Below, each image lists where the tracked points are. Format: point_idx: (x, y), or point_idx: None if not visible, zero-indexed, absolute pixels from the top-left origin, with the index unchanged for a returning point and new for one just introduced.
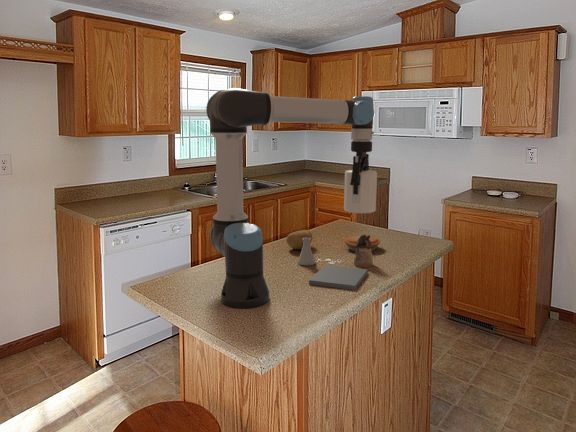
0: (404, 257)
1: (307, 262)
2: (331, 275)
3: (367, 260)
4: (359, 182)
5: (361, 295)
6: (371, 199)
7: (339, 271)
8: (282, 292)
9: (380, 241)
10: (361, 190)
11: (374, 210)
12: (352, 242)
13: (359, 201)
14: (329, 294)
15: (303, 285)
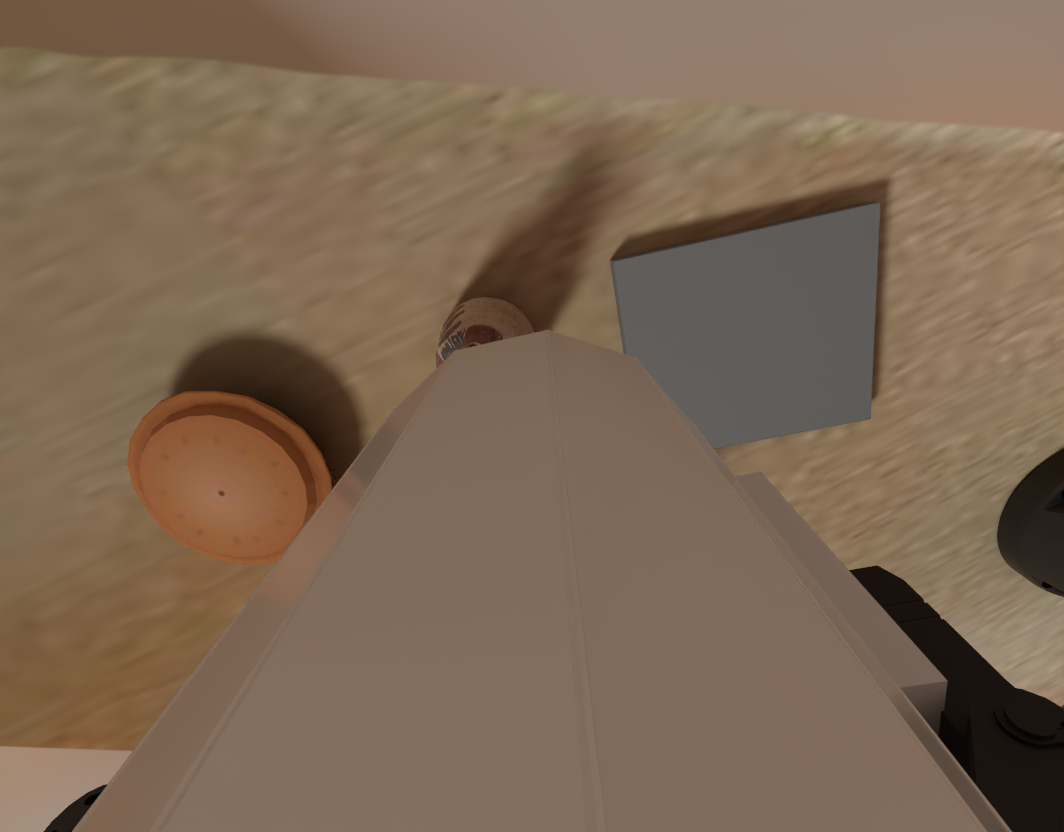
0: (235, 203)
1: None
2: (776, 368)
3: (515, 312)
4: (1036, 760)
5: (927, 137)
6: (616, 392)
7: (705, 365)
8: (982, 446)
9: (168, 398)
10: (814, 583)
11: (520, 338)
12: (312, 502)
13: (771, 486)
14: (955, 277)
15: (879, 422)
